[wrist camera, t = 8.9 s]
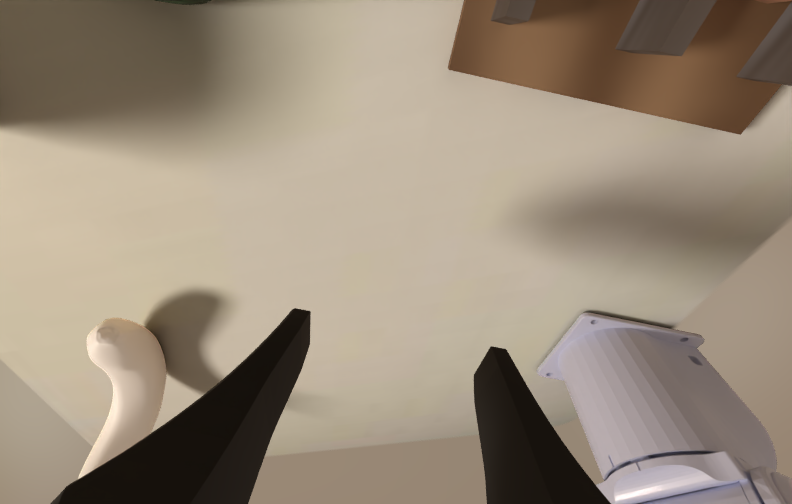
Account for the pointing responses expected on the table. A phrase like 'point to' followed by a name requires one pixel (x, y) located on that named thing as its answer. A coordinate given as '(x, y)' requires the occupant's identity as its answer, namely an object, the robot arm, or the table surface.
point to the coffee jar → (186, 1)
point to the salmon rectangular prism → (772, 1)
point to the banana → (126, 385)
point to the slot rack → (635, 53)
